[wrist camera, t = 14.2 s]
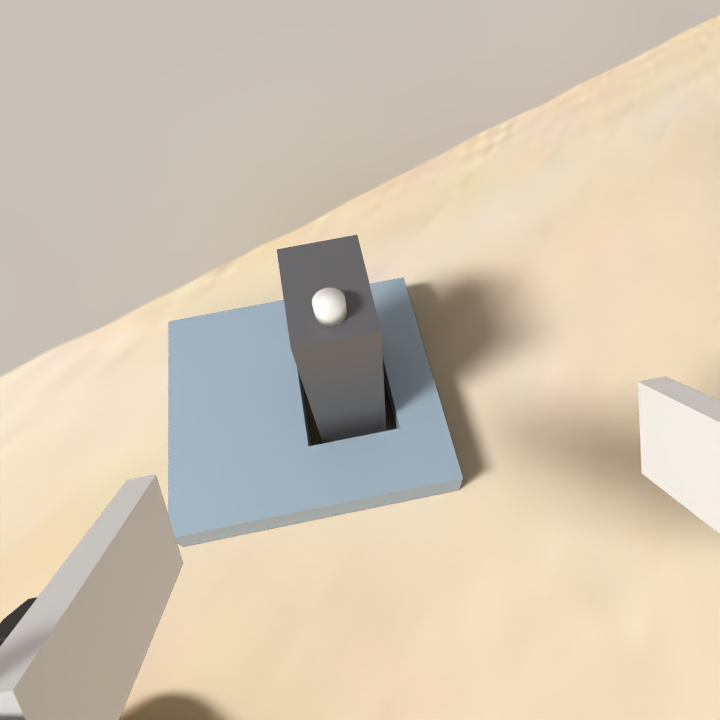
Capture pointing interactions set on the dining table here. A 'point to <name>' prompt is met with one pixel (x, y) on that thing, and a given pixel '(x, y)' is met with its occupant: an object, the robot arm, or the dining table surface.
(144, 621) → the robot arm
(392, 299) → the plate
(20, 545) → the dining table surface
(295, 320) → the servo block
